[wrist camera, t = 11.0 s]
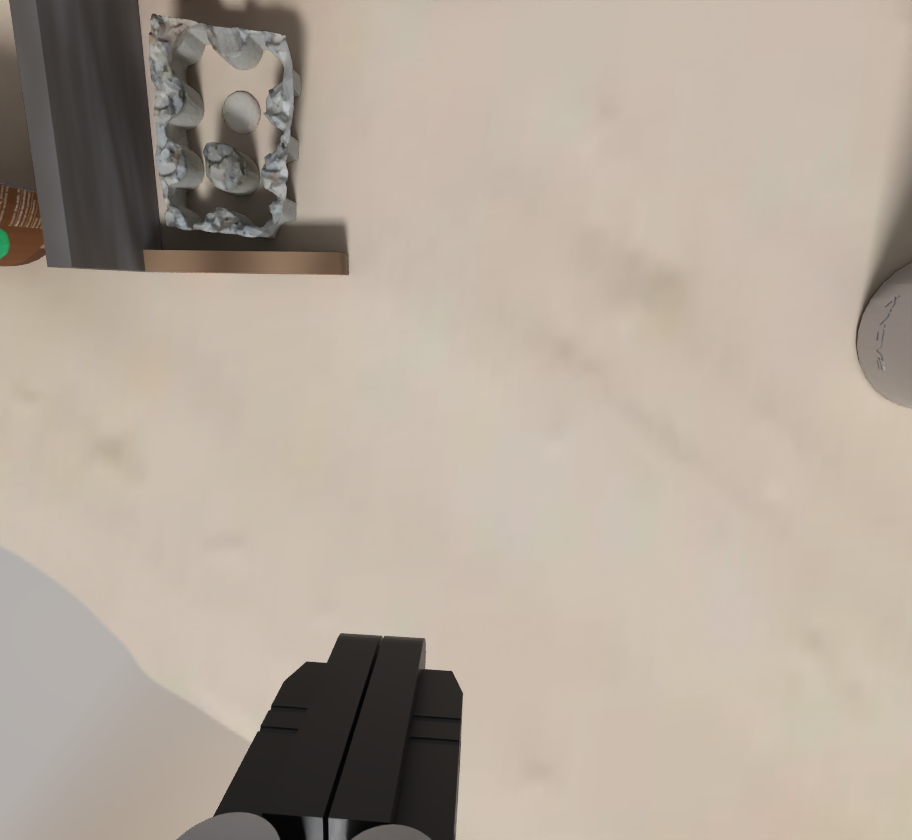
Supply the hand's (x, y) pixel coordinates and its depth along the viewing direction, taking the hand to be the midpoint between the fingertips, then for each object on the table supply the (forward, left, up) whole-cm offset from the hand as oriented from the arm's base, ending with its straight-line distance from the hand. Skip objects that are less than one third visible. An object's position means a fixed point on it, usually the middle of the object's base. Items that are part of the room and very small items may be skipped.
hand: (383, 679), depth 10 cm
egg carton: (+13, -15, -27) cm, 33 cm away
